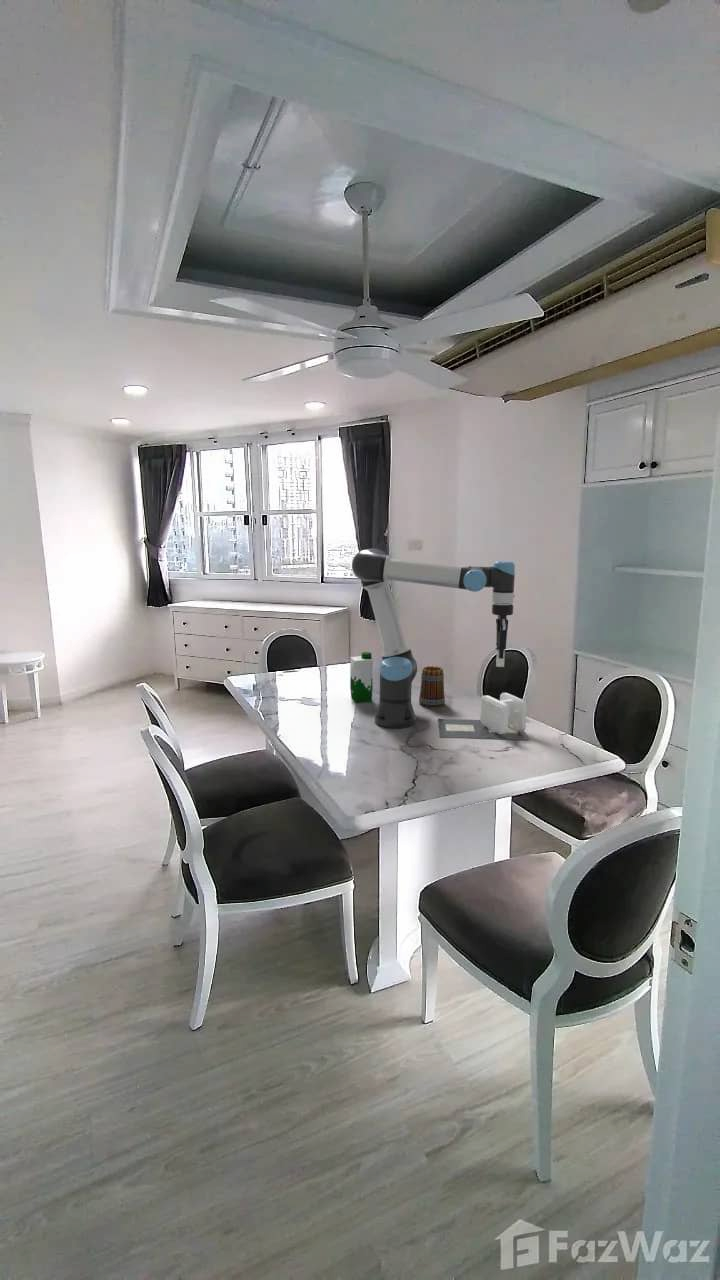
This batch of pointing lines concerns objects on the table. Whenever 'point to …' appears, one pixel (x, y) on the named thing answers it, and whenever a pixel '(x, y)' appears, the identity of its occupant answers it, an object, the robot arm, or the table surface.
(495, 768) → the table surface
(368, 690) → the milk carton
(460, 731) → the panel
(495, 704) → the cable organizer
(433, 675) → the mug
